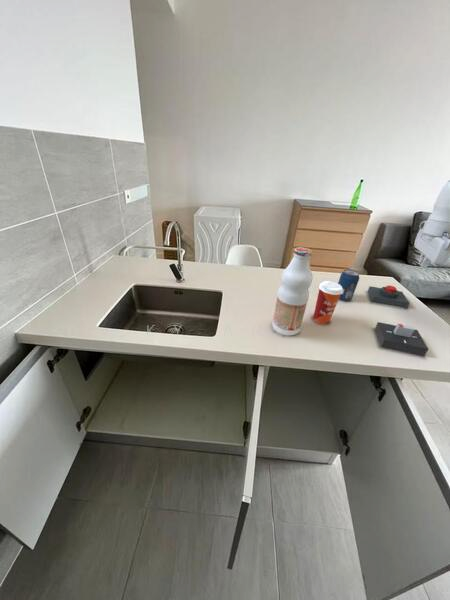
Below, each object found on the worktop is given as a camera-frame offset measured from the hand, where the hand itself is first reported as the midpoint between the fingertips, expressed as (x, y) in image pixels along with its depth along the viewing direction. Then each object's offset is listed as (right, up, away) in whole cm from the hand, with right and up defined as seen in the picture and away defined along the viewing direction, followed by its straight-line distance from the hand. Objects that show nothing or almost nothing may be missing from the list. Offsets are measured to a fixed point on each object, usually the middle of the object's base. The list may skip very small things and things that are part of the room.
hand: (422, 266), depth 90 cm
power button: (-4, -9, +12) cm, 15 cm away
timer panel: (-16, -26, -10) cm, 32 cm away
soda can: (-23, -12, +13) cm, 29 cm away
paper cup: (-38, -20, -1) cm, 43 cm away
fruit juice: (-52, -22, -6) cm, 57 cm away
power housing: (-4, -12, +14) cm, 19 cm away
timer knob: (-16, -24, -12) cm, 31 cm away
